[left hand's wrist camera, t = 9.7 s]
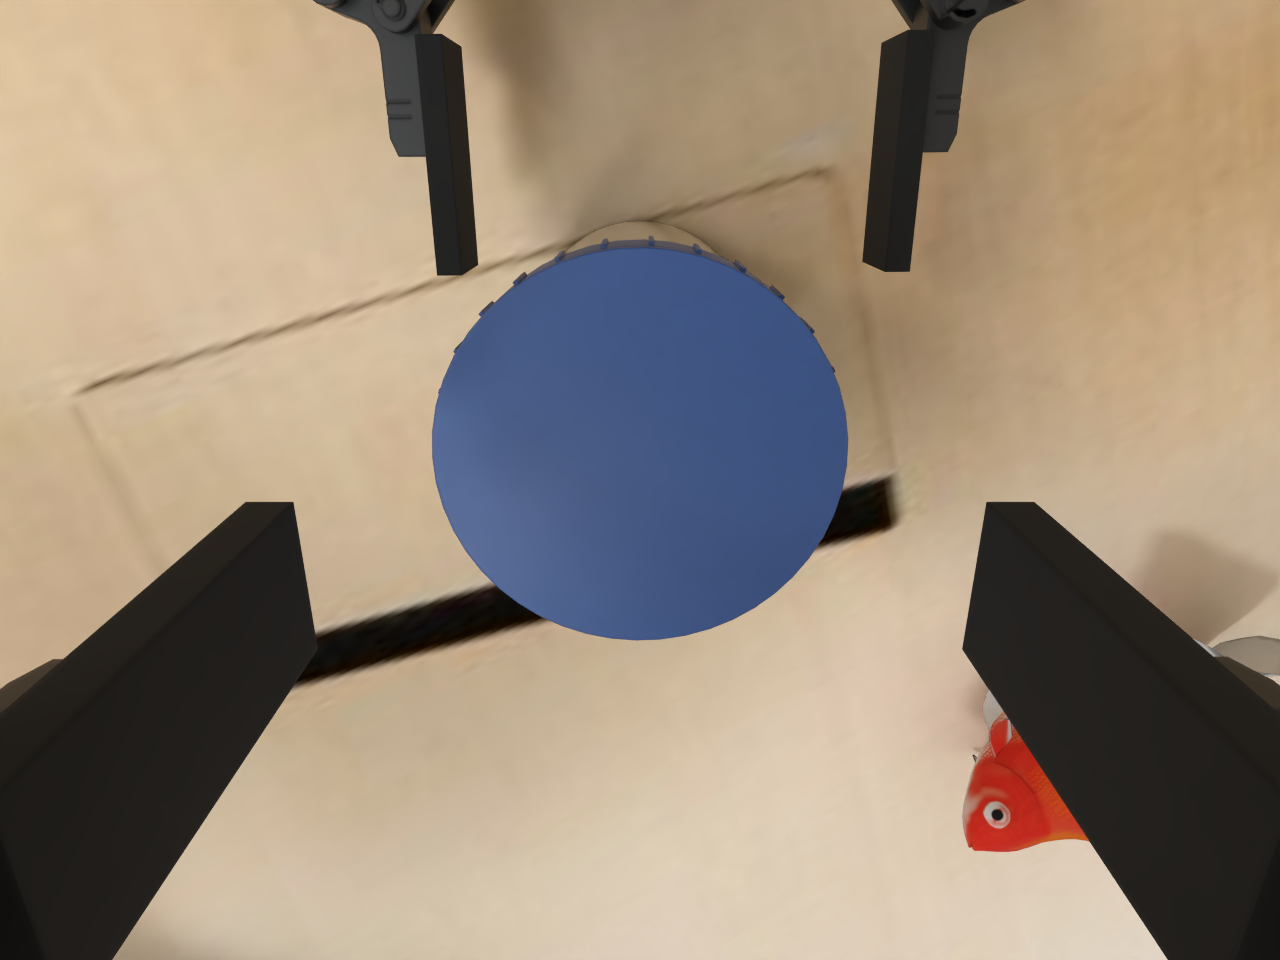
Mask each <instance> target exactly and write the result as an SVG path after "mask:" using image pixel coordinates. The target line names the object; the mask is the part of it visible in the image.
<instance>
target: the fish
mask: <svg viewBox="0 0 1280 960" xmlns="http://www.w3.org/2000/svg"><path fill="white" fill-rule="evenodd" d="M1194 640H1195V639H1194ZM1195 641H1196V642H1197V643H1198V644H1200V645H1201V646H1202V647H1203V648H1204V649H1205V650H1207V651H1208V652H1209V653H1210V654H1211V655H1212V656H1213V657H1230V658H1231V659H1233V660H1235V661H1237V662H1239V663H1241V664H1243V665H1245V666H1247V667H1249V668H1250V669H1252V670H1254V671H1256V672H1258V673H1260V674H1262V675H1264V676H1266V677H1270V676H1278V675H1280V640H1279V639H1274V638H1269V637H1264V636H1254V637H1246V638H1240V639H1235V640H1231V641H1226V642H1222V643H1219V644H1218V645H1216V646H1215V647H1213V648H1211V647H1209V646H1207V645H1205V644H1203V643H1201V642H1199V641H1197V640H1195ZM983 716H984V719H985V721H986V724H987V726H988V728H989V743H988V744H987V745H986V746H985V747H984V748H983V749H982V750H981V752H980V754H979V756H978V758H977V757H976V756H975V755H973V758H974V760H975V765H974V768H973V770H972V773H971V777H970V780H969V784H968V787H967V791H966V796H965V800H964V806H963V815H962V819H963V829H964V833H965V837H966V840H967V843H968V846H969V848H971V847H972V849H973V850H974V851H993V852H1010V851H1018V850H1021V849H1024V848H1028V847H1031V846H1033V845H1036V844H1039V843H1042V842H1047V841H1054V840H1062V839H1079V840H1086V841H1089V840H1088V838H1087V837H1086V835H1085V834H1084V832H1083V831H1082V829H1081V828H1080V826H1079V825H1078V823H1077V822H1076V820H1075V819H1074V817H1073V816H1072V814H1071V813H1070V811H1069V810H1068V808H1067V807H1066V805H1065V804H1064V802H1063V801H1062V799H1061V797H1060V796H1059V794H1058V793H1057V791H1056V790H1055V788H1054V787H1053V785H1052V784H1051V782H1050V781H1049V779H1048V778H1047V776H1046V775H1045V773H1044V772H1043V770H1042V769H1041V767H1040V766H1039V764H1038V763H1037V761H1036V760H1035V758H1034V757H1033V755H1032V754H1031V752H1030V751H1029V749H1028V748H1027V746H1026V745H1025V743H1024V742H1023V740H1022V739H1021V737H1020V736H1019V734H1018V733H1017V731H1016V730H1015V728H1014V726H1013V725H1012V723H1011V722H1010V720H1009V719H1008V717H1007V716H1006V714H1005V713H1004V711H1003V710H1002V708H1001V707H1000V705H999V704H998V702H997V701H996V699H995V698H994V696H993V695H992V693H991V692H990V690H989V689H988V692H987V695H986V698H985V701H984V703H983ZM1089 842H1090V841H1089Z"/></svg>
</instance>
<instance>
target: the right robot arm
mask: <svg viewBox="0 0 1280 960" xmlns="http://www.w3.org/2000/svg"><path fill="white" fill-rule="evenodd" d="M313 1H315V2H316V3H317V4H319V5H322V6H324V7H326V8H328V9H330V10H332V11H334V12H336V13H338V14H340V15H342V16H344V17H346V18H349V19H352V20H355V21H357V22H360V23H363V24H365V25H367V26H368V27H369V28H371V30H372V31H373V32H374V34H375V35H376V37H377V40H378V42H379V46H380V51H381V60H382V69H383V78H384V88H385V97H386V102H387V103H386V106H387V115H388V124H389V134H390V139H391V141H392V144H393V146H394V148H395V150H396V152H397V154H398V156H399V157H426V163H427V173H428V184H429V194H430V205H431V215H432V226H433V236H434V247H435V257H436V268H437V275H463V274H465V273H466V272H468V271H469V270H471V269H473V268H474V267H476V266H477V265H478V256H477V243H476V230H475V217H474V204H473V191H472V178H471V166H470V153H469V140H468V127H467V114H466V101H465V88H464V75H463V62H462V49H461V46H459V45H458V44H456V43H455V42H453V41H452V40H450V39H449V38H447V37H445V36H444V35H442V34H433V33H434V31H435V30H436V28H437V27H438V25H439V24H440V22H441V20H442V19H443V17H444V16H445V14H446V13H447V11H448V10H449V8H450V7H451V5H452V4H453V2H454V1H455V0H313ZM1023 1H1025V0H892V2H893V3H894V5H895V6H896V8H897V9H898V11H899V13H900V14H901V16H902V17H903V19H904V20H905V22H906V23H907V25H908V26H909V28H910V29H911V30H907V31H905V32H903V33H901V34H899V35H897V36H895V37H893V38H891V39H889V40H887V41H885V42H883V43H882V44H881V56H880V67H879V79H878V90H877V101H876V113H875V124H874V136H873V147H872V159H871V170H870V181H869V193H868V204H867V216H866V227H865V238H864V250H863V261H862V262H864V263H866V264H869V265H871V266H873V267H875V268H878V269H880V270H882V271H884V272H910V264H911V255H912V246H913V236H914V227H915V218H916V209H917V199H918V190H919V181H920V172H921V163H922V153H923V152H948V150H949V148H950V146H951V144H952V142H953V140H954V138H955V136H956V134H957V127H958V118H959V110H960V102H961V94H962V85H963V77H964V69H965V61H966V52H967V45H968V40H969V37H970V34H971V32H972V30H973V29H974V27H975V26H976V25H977V23H978V22H980V21H981V20H982V19H983V18H985V17H986V16H989V15H991V14H994V13H996V12H998V11H1001V10H1003V9H1006V8H1008V7H1011V6H1013V5H1015V4H1018V3H1020V2H1023Z"/></svg>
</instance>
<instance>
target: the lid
mask: <svg viewBox="0 0 1280 960" xmlns="http://www.w3.org/2000/svg"><path fill="white" fill-rule="evenodd" d="M513 284H514V286H512V287H511V288H510V289H509V290H508V291H507V292H506V293H505V294H504V295H502V296H501V297H500V298H499V299H498V300H497V301H496V302H495V303H494V302H493V301H492V302H490V303H489V304H488V305H487V306H486V307H485V308H484V309H483V310H482V311H481V312H480V313H479V315H480V316H481V318H480V319H479V320H478V321H477V323H476V324H475V325H474V326H473V327H472V329H471V330H470V331H469V332H468V334H467V335H466V337H465V339H464V340H463V341H462V342H461V343H460V344H459V345H458V346H457V347H456V348H455V350H454V353H455V355H454V356H453V359H452V361H451V363H450V365H449V368H448V370H447V372H446V374H445V377H444V379H443V382H442V385H441V388H440V389H439V392H438V394H439V396H438V400H437V403H436V408H435V415H434V423H433V430H432V458H433V465H434V472H435V479H436V484H437V488H438V491H439V495H440V498H441V502H442V505H443V508H444V510H445V513H446V515H447V517H448V519H449V522H450V524H451V526H452V529H453V531H454V532H455V534H456V536H457V537H458V539H459V541H460V542H461V544H462V546H463V547H464V549H465V551H466V552H467V553H468V555H469V556H470V557H471V558H472V560H473V561H474V562H475V563H476V565H477V566H478V567H479V568H480V570H481V571H482V572H483V573H484V574H485V575H486V576H487V577H488V578H489V579H490V580H491V581H492V582H493V583H494V584H495V585H496V586H497V587H498V588H499V589H501V590H502V591H503V592H504V593H506V594H507V595H508V596H510V597H511V598H512V599H514V600H515V601H516V602H518V603H519V604H520V605H522V606H524V607H526V608H527V609H529V610H531V611H532V612H534V613H536V614H537V615H539V616H541V617H543V618H545V619H548V620H550V621H552V622H554V623H557V624H559V625H561V626H563V627H567V628H570V629H573V630H576V631H579V632H583V633H586V634H591V635H596V636H601V637H606V638H612V639H626V640H657V639H666V638H673V637H679V636H686V635H689V634H693V633H697V632H700V631H704V630H708V629H711V628H713V627H716V626H718V625H721V624H723V623H726V622H728V621H731V620H733V619H735V618H737V617H739V616H740V615H742V614H744V613H746V612H748V611H750V610H752V609H753V608H755V607H756V606H758V605H759V604H761V603H762V602H763V601H765V600H766V599H768V598H769V597H771V596H772V595H773V594H775V593H776V592H777V591H778V590H779V589H780V588H781V587H782V586H784V585H785V584H786V583H787V582H788V581H789V580H790V579H791V578H792V577H793V576H794V575H795V574H796V573H797V572H798V571H799V569H800V568H801V567H802V566H803V565H804V564H805V562H806V561H807V560H808V559H809V558H810V556H811V555H812V553H813V552H814V550H815V549H816V547H817V545H818V544H819V542H820V541H821V539H822V538H823V536H824V534H825V532H826V530H827V528H828V526H829V524H830V522H831V520H832V518H833V516H834V513H835V510H836V507H837V504H838V501H839V498H840V495H841V492H842V488H843V483H844V478H845V473H846V467H847V452H848V433H847V422H846V413H845V408H844V404H843V400H842V396H841V391H840V388H839V385H838V382H837V380H836V377H835V375H834V372H835V370H834V368H833V367H832V366H831V364H830V362H829V361H828V359H827V357H826V355H825V353H824V352H823V350H822V348H821V346H820V345H819V343H818V341H817V339H816V338H815V337H814V335H813V333H814V332H815V331H814V330H813V329H812V328H811V327H810V326H809V325H808V324H807V323H806V322H805V321H804V320H803V319H802V318H800V317H799V316H798V315H797V314H796V313H795V312H794V311H793V310H792V309H791V308H790V307H789V306H788V305H787V304H786V303H785V302H784V301H782V300H783V299H784V298H785V297H784V296H783V295H782V294H781V293H780V292H779V291H778V290H777V289H776V288H775V287H774V286H773V285H772V286H771V287H770V288H769V287H768V286H767V285H766V284H764V283H763V282H762V281H760V280H759V279H758V278H756V277H755V276H754V275H752V274H751V273H750V272H748V271H747V269H746V268H745V267H744V266H743V265H742V264H741V263H740V262H739V261H737V260H735V262H734V263H732V262H731V261H729V260H727V259H725V258H723V257H721V256H718V255H716V254H713V253H710V252H708V251H705V250H702V249H701V248H700V246H699V245H698V244H696V243H694V244H693V246H688V245H684V244H679V243H675V242H670V241H659V240H654V237H653V236H649V240H648V239H638V240H617V241H612V242H608V238H606V239H603V241H602V243H601V244H595V245H590V246H587V247H584V248H581V249H578V250H575V251H572V252H569V253H566V254H565V251H561V252H560V253H559V254H558V255H557V256H556V257H555V258H554V259H553V260H551V261H549V262H547V263H545V264H543V265H541V266H540V267H538V268H537V269H535V270H534V271H532V272H531V273H529V274H528V275H527V274H526V273H525V272H524V273H522V274H521V275H520V276H519V277H518V278H517V279H516V280H515V281H514V282H513Z"/></svg>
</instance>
